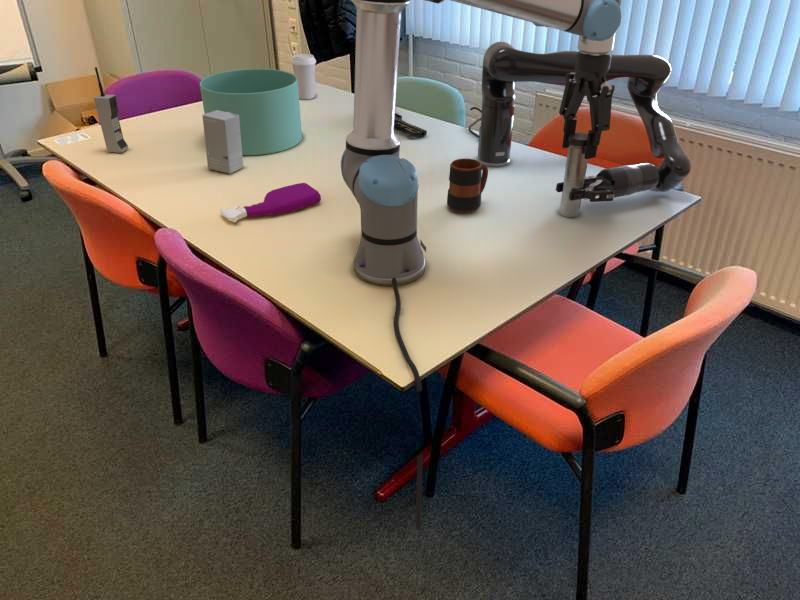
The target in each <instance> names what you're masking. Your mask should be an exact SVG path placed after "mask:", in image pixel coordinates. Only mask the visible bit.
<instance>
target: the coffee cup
mask: <svg viewBox="0 0 800 600" xmlns="http://www.w3.org/2000/svg"><path fill="white" fill-rule="evenodd" d="M316 63H317V60H316V58H315V56H314V54H311V53H310V54H309V53H299V54H295V55H293V56H292V57H291V60H290V64H291V66H292V71H293V75H295V76H296V77H297V81H298V92H299V100H311V99H314V98H315V97H316Z"/></svg>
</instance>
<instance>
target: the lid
mask: <svg viewBox="0 0 800 600" xmlns="http://www.w3.org/2000/svg"><path fill="white" fill-rule="evenodd" d="M587 138H588V133H587V132H586V133H585V132H575V133H572V134H570V135H569V140H568V142H569V144H571V145H574V146H579V147H586V145H587Z"/></svg>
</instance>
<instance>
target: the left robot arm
mask: <svg viewBox="0 0 800 600" xmlns="http://www.w3.org/2000/svg"><path fill="white" fill-rule="evenodd" d="M350 1H351V2H352V3H353V5H354V6H355V8H356V23H355V25H356V27H355V31H356V32H355V59H354V60H355V62H354V63H355V64H354V90H353V91H354V92H353V94H354V95H353V96H354V99H353V128H352V131H351V132H349V133H348V134H347V135H346V137H345V149H344V151H343V153H342V155H341V158H340V172H341V176H342V179H343V181H344V183H345V185H346V186H347V188H348V189H349V191H350V192H351V194H352V195H353V197H354V198H355V200H356V202H357V204H358V205H359V210H360V211H359V212H360V239H359V242H358V247H357V249H356V252H355V256H354V259H353V270H354V273H355V275H356V276H357V277H358V278H359V279H360V280H362V281H364V282H366V283H369V284H370V285H371V284H372V285H376V286H382V287H392V289H393V294H394V297H395V311H394V316H393V330H394V335H395V339H396V342H397V343H398V346H399V348H400V351H401V353H402V356H403V358H404V360H405V362H406V363H407V365H408V366H409V368H410V370H411V373H412V376H413V378H414V383H415V389H416V391H417V392H422V391H423V384H422V380H421V376H420V373H419V370H418V368H417V366H416V364H415V363H414V362H413V360H412V358H411V356H410V354H409V351H408V349H407V347H406V345H405V343H404V342H405V341H404V340H403V338H402V334H401V330H400V325H399V318H400V313H401V305H402V304H401V303H402V302H401V301H402V300H401V295H400V292H399V286H402V285H406V284H410V283H413V282H415V281H417V280H418V279H420V278H421V276H423V274H424V273H425V270H426V258H425V255H424V252H425V253H427V246H426V245H425V243H424V242H423V240H422V239H419V238H418V198H419V197H418V196H419V194H418V193H419V192H418V191H419V187H420V186H419V185H420V184H419V179H418V172H417V169H416V167H415V165H414V164H413V163H412V162H411V161H409V160H408V159H406V158H404V157H402V158H401V157H400V150H401V149H400V148H401V140H400V138H399V137H398V136H397V134H395V128H394V119H395V106H396V102H397V101H396V100H397V88H398V87H397V86H398V84H397V83H398V69H399V68H398V66H399V54H400V39H401V23H402V11H403V10H404V9H405V8H406V7H408V5H410V3H411V0H350ZM424 1H425V2H430V3H434V4H437V5H438V4H442V3H443V2H444V1H445V0H424ZM450 1H451V2H454V3H457V4H458V3H459V4H461V5H462V4H463V5H465V6H470V7H474V8H478V9H481V10H483V11H487V12H488V11H489V12H492V13H494V14H495V13H496V14H500V15H503V16H507V17H511V18H515V19H518V20H522V21H525V22H529V23H531V24H532V25H534V26H536V27H545V28H552V29H556V30H559V31H563V32H565V33H569V34H573V35H576V36H578V41H577V47H576V48H577V50H578V52H577V53H576V59H575V66H574V67H575V69H576V70H577V72H574V73H567V74H566V85H565V86H564V89H563V93H562V94H563V95H562V98H561V103H560V107H559V111H558V113H559V115H560V116H562V117H563V120H564V121H563V128H562V129H563V137H562V138H563V139H562V146H561V147H562V149H569V142H568V140H569V135H570V134H572V133H576V130H577V123H578V122H577V121H578V120H577V118H578V116H577V114H578V111H579V109H580V107H581V105H582V103H583V100H584V98H585V97H586V101H587V102H588V105H589V106H588V107H589V115H590V126H591V129H589V130H588V131H587V134H588V138H587V145H586V151H585V157H584V158H585V159H588V160H589V159H595V158H596V157H597V152H598V146H599V145H600V143H601V138H602V133H603V132H606V131H609V130H610V129H611V116H612V115H611V114H612V103H613V95H614V92H615V89H616V86H615V84H609V83H607V82H606V80H605V74H606V73H607V71H608V70H609V68H610V62H611V56H612V55H613V54H612V53H611V52H612V51H613V50H614V45H615V38H616V33H617V32H618V30H619V28H620V26H621V23H622V21H623V11H622V8H621V3H622V0H450ZM423 251H424V252H423ZM423 455H424V454H419V455H417V456H416V457H417V458H416V462H417V463H416V495H415V496H416V497H415V498H416V500H415V504H416V505H415V529H416V530H417V531H420V530H421V529H422V495H423V494H422V493H423V467H424V465H423V464H424V462H423V461H424V459H423V458H424V456H423Z"/></svg>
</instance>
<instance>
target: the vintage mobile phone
mask: <svg viewBox="0 0 800 600" xmlns="http://www.w3.org/2000/svg"><path fill="white" fill-rule="evenodd" d="M94 71H95V74H96V79H97V83H98V88H99V89H98V90H99V92H100V94H99V95H97V96H95V97H93V102H94V105H95V109H96V113H97V117H98V120H99V124H100V129H101V132H102V137H103V139H104V143H105V147H106V151H107V152H108V153H117V154H123V153H125V151H128V149H129V145H128V144H127V142H126V141H125V138H124V134H123V130H122V127H121V123H120V118H119V106H118V99H117V95H116V94H105V93H104V88H103V85H102V82H101V78H100V74H99V70H98V67H96V66H95V67H94Z"/></svg>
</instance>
